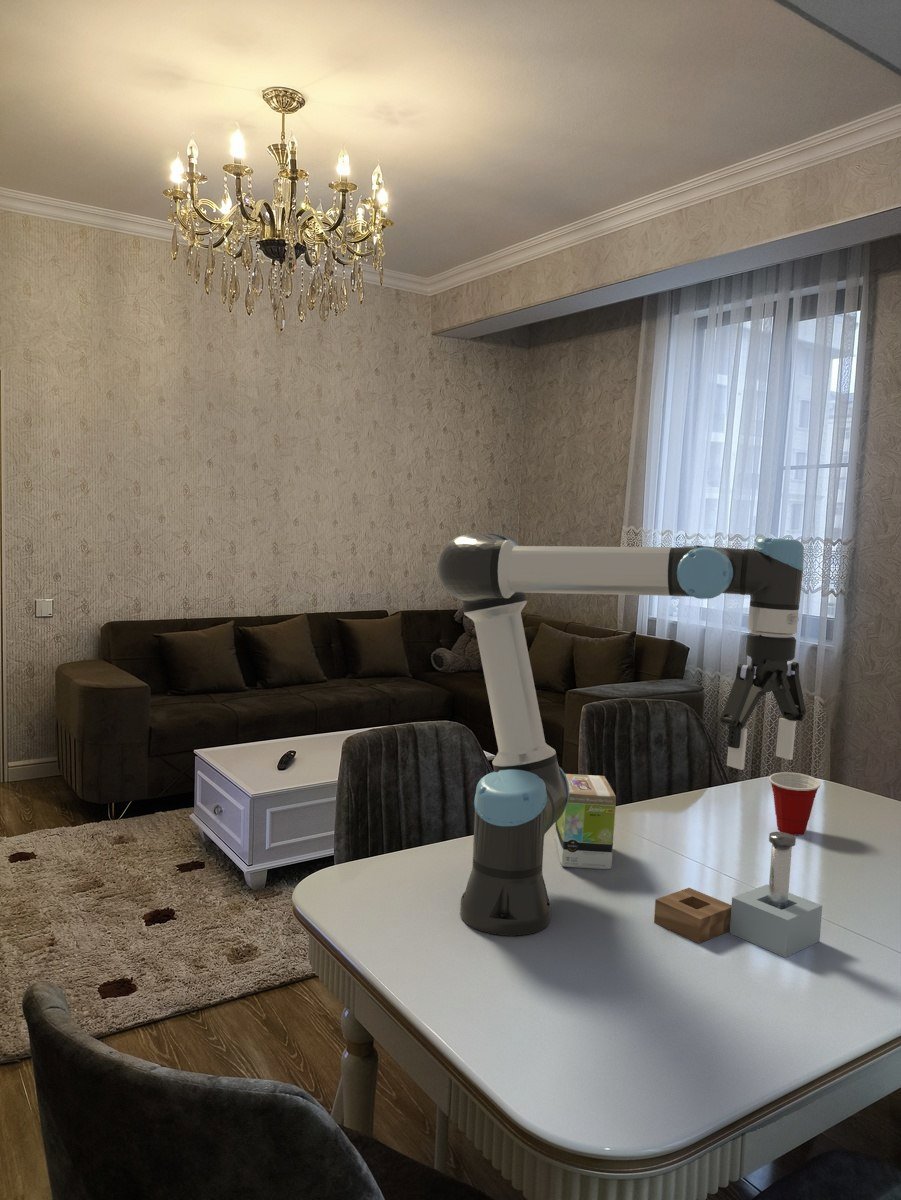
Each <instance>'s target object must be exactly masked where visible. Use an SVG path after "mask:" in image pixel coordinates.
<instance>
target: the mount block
mask: <svg viewBox="0 0 901 1200" xmlns="http://www.w3.org/2000/svg"><path fill="white" fill-rule="evenodd" d="M731 906H732V904H730V903H727V902H725V901H722V900H720V899H718V898H715V897H713V896H710V895H707V894H706V893H704V892H702V891H701V892H700V891H699V890H696V889H694V888H691V887H687V888H683V889H680V890H678V891H676V892H673V893H669V894H666V895H664V896H661V897H658V898H655V901H654V917H653V923H654V924H657V925H659V926H661V927H663V928H665V929H667V930H669V931H672V932H674V933H676V934H677V935H680V936H682V937H684V938H686V939H689V940H691V941H693V942H695V943H697V944H701V943H703V942H705V941H709V940H711V939H714V938H715V937H718V936H720V935H723V934H725V933H727V932H730V921H731Z"/></svg>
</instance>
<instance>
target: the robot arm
mask: <svg viewBox="0 0 901 1200" xmlns="http://www.w3.org/2000/svg"><path fill="white" fill-rule="evenodd" d="M754 544H755V545H753V548H744V549H743V548H733V547H732V548H731V547H719V546H707V545H699V544H697V545H683V546H682V547H681V546H678V547H671V546H670V547H669V546H663V547H662V546H576V545H575V546H569V545H568V546H566V545H565V546H563V545H561V546H559V545H557V546H552V545H551V546H550V545H549V546H547V545H518V544H517V543H516V542H515V541H513V540H512V539H510V538H508V537H506V536H505V535H501V534H498V533H481V534H480V533H478V534H477V533H466V534H463V535H460V536H456V537H455V538H453V539H452V540H450V541H449V542H448V543H447V544H446V545H445V547H444V548H443V550H442V551H441V553H440V555H439V558H438V563H437V571H438V578H439V580H440V582H441V584H442V586H443V588H444V589H445V590H446V592H448V593H449V595H451V596H453V597H455V598H456V599H459V600H460V601H461V605H462V611H463V614H464V615H465V616H466V617H467V618H469V619H470V620H472V622H473V623H474V628H475V633H476V639H477V644H478V651H479V654H480V658H481V659H480V661H481V666H482V670H483V671H482V672H483V676H484V681H485V685H486V687H485V688H486V691H487V696H488V697H487V698H488V701H489V706H490V713H491V718H492V722H493V728H494V729H493V730H494V734H495V738H496V739H495V740H496V745H497V749H498V751H497V753H496V755H495V757H494V758H493V760H492V762H491V763H492V767H493V771H492V772H489V773H487V774H486V775H484V776H483V777H481V778H480V779H479V781H478V782H477V785H476V788H475V789H476V790H475V795H474V801H473V807H474V821H473V845H472V846H473V848H472V868H471V871H470V873H469V874H470V875H469V878H468V880H467V884H466V887H465V891H464V892H463V893H462V895H461V898H460V904H459V906H460V907H459V911H460V912H459V915H460V918H461V920H462V921H463V922H464V923H465V924H467V925H468V926H469V927H472V928H474V929H475V930H477V931H478V930H479V931H481V932H483V933H488V934H493V935H499V936H524V935H525V936H526V935H530V934H534V933H538V932H540V931H542V930H544V929H545V928H546V927H548V926H549V924H550V922H551V918H552V917H551V915H552V914H551V912H552V910H551V909H552V905H551V901H550V899H549V896H548V890H547V888H546V884H545V879H544V875H543V864H544V863H543V861H544V840H545V835H546V833H547V832H548V831H549V830H550V829H551V828H552V826H553V825H554V824H556V821H557V820H558V819H559V818H560V817H561V815H562V814H563V813H564V811H565V809H566V806H567V803H568V799H569V783H568V780H567V777H566V775H565V774H566V773H565V772H564V770H563V768H562V767H560V765H559V763H558V757H557V752H556V749H554V748H553V747H551V746H550V745H549V744H547V743H546V739H545V734H544V728H543V723H542V718H541V712H540V709H539V708H540V707H539V703H538V697H537V691H536V687H535V682H534V676H533V670H532V665H531V661H530V656H529V655H530V654H529V651H528V645H527V639H526V635H525V629H524V623H523V618H522V614H521V613H522V610H523V609H524V608H525V606H526V605H527V603H528V600H527V595H526V593H528V594H529V593H537V594H538V593H539V594H571V595H572V594H575V595H577V594H578V595H579V594H580V595H582V594H583V595H616V596H618V595H619V596H620V595H621V596H622V595H624V596H625V595H626V596H630V595H631V596H661V597H662V596H664V597H665V596H666V597H667V596H669V597H670V596H671V597H673V596H674V597H691V598H696V599H699V600H700V599H701V600H703V599H706V600H707V599H714V598H717V597H719V596H721V594H725V595H726V594H728V595H741V596H742V595H743V596H750V602H749V610H748V611H749V612H748V620H747V629H748V630H749V631H750V632H749V633H748V634H747V635H746V647H745V653H746V655H747V657H750V659H751V662H750V665H747V664H741V663H739V664H738V665H737V668H736V674H735V679H734V682H733V684H732V687H731V688H730V689H731V690H730V692H729V695H728V697H727V699H726V702H725V705H724V709H723V711H722V713H721V716H720V719H719V721H720V723H722V724H723V725H725V726H728V737H727V738H728V739H727V756H726V758H727V759H726V766H727V767H729V768H730V767H731V768H734V769H737V770H741V771H742V770H744V769H745V761H746V750H747V749H746V748H747V739H748V728H746V727H745V726H746V724H747V722H748V721H749V719H750V717H751V715H752V714H753V711H754V710H755V708H756V707H757V704H758V702H759V701H760V699H761V697H763V696H765V695H766V694H767V693H771V692H772V694H773V697H774V699H775V702H776V704H777V706H778V708H779V711H780V712H781V713H780V714H781V715H782V717H779V718H778V727H777V735H776V736H777V738H776V749H775V757H777V758H782V759H785V760H789V761H792V760H793V758H794V748H795V737H796V727H797V721H799V722H802V721H804V719H805V718H804V716H805V714H806V712H807V710H806V704H805V700H804V694H803V690H802V685H801V680H800V663H799V662H796V661H792V660H794V659H795V658H796V657H795V656H796V645H797V639H796V637H794V636H793V635H795V634H796V633H797V632H798V622H799V619H800V618H799V609H800V602H801V594H802V593H801V592H802V584H803V575H804V573H803V572H804V557H805V554H804V553H805V551H804V549H805V548H804V544H802V542H801V541H800V540H797V539H789V538H787V539H786V538H773V537H772V538H771V537H770V538H768V537H767V538H766V537H758V538H757V539H756V540H755V543H754Z"/></svg>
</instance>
